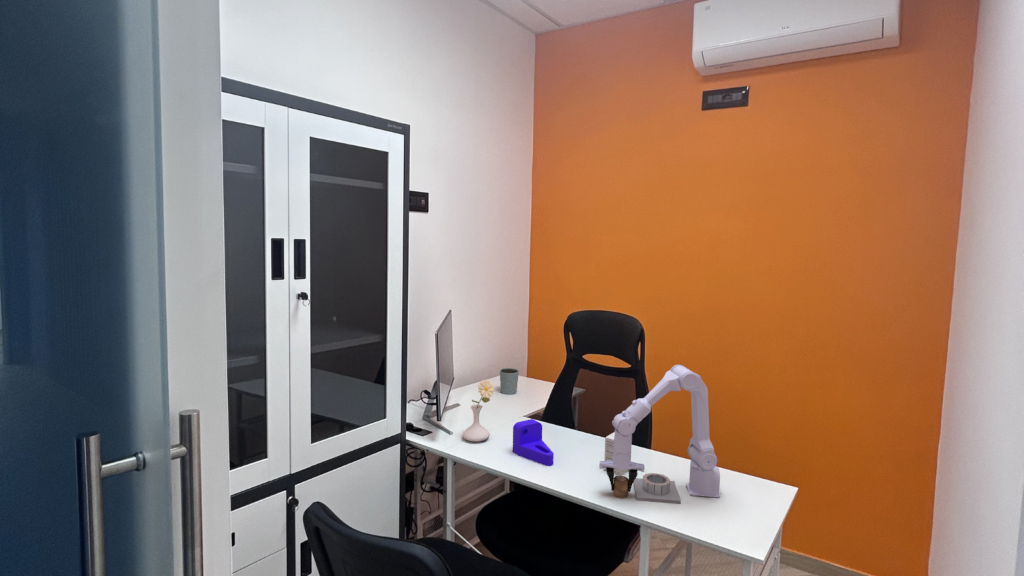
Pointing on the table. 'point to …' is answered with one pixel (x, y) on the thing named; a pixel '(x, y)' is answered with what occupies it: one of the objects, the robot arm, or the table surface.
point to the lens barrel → (656, 484)
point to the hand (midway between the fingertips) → (620, 489)
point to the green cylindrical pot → (508, 381)
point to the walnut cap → (620, 486)
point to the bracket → (531, 442)
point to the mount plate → (645, 496)
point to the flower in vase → (476, 430)
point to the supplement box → (611, 452)
